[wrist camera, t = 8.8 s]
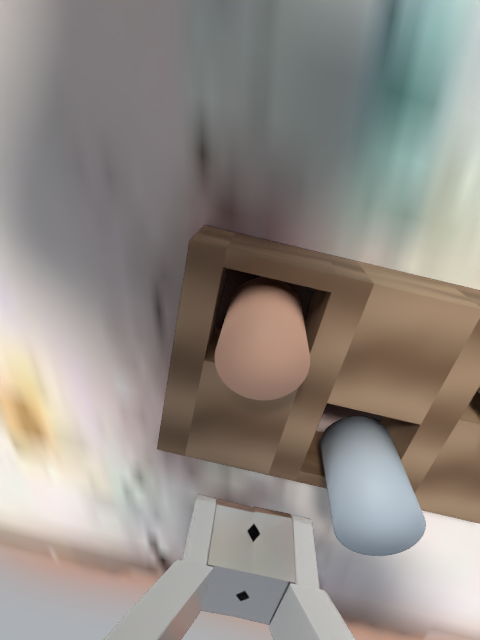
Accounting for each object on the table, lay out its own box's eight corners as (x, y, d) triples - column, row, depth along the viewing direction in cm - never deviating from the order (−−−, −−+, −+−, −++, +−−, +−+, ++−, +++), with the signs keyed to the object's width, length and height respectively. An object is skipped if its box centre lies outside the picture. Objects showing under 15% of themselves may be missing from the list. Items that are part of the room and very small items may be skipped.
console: (204, 225, 23) (189, 240, 19) (598, 318, 23) (666, 352, 19) (173, 408, 29) (156, 449, 25) (483, 480, 30) (516, 531, 26)
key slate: (333, 409, 23) (350, 486, 18) (402, 425, 23) (441, 507, 18) (311, 460, 25) (322, 544, 20) (376, 475, 25) (403, 563, 20)
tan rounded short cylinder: (237, 269, 22) (224, 307, 16) (310, 286, 22) (322, 330, 17) (222, 335, 24) (207, 388, 18) (290, 351, 24) (295, 409, 18)
